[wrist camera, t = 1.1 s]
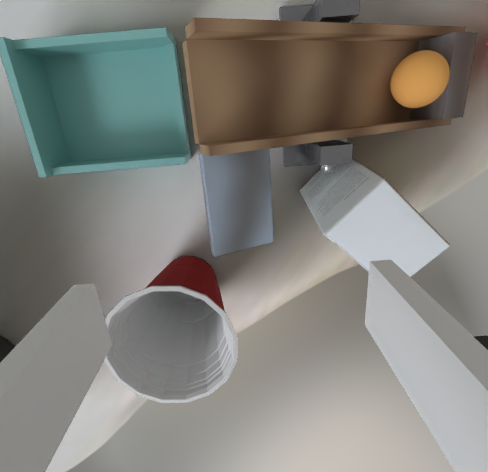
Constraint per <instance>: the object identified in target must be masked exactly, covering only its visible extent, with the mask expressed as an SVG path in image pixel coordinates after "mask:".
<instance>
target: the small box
mask: <svg viewBox="0 0 488 472" xmlns="http://www.w3.org/2000/svg"><path fill="white" fill-rule="evenodd" d="M300 193H301V195H302V197H303V199H304V200H305V202H306V204H307V206H308V208H309V209H310V211H311V213H312V215H313V217H314V219H315V220H316V222H317V224H318V226H319V227H320V229H321V231H322V233H323V234H324V236H325V237H327V238H328V239H329V240H331V241H332V242H333V243H335V244H336V245H337V246H338V247H340V248H341V249H342V250H343V251H345V252H346V253H347V254H348V255H349V256H350V257H351V258H353V259H354V260H355V261H356V262H357V263H359V264H360V265H361V266H362V267H363V268H364V269H366V270H367V271H368V272H369V266H370V261H379V260H392V261H393V262H394V263H396V264H397V265H398V266H399V267H400V268H401V269H402V270H403V271H404V272H405V273H406V274H407V275H408V276H409V277H411V276H412V275H414V274H415V273H416V272H417V271H419V270H420V269H421V268H422V267H424V266H425V265H426V264H427V263H429V262H430V261H431V260H433V259H434V258H435V257H436V256H438V255H439V254H440V253H441V252H443V251H444V250H445V249H446V248H448V247H449V246H450V244H449V243H448V242H447V241H446V240H445V239H444V238H443V237H442V236H441V235H440V234H439V233H438V232H437V231H436V230H435V229H434V228H433V227H432V226H431V225H430V224H429V223H428V222H427V221H426V220H425V219H424V218H423V217H422V216H421V215H420V214H419V213H418V212H417V211H416V210H415V209H414V208H413V207H412V206H411V205H410V204H409V203H408V202H407V201H406V200H405V199H404V198H403V197H402V196H401V195H400V194H399V193H398V192H397V190H396V189H395V188H394V187H392V186H391V184H390V183H389V182H388V181H387V180H386V179H384V178H383V177H381V176H380V175H378V174H376V173H375V172H373V171H372V170H370V169H369V168H367V167H365V166H364V165H362V164H360V163H359V162H357V161H356V160H354V159H353V158H352V163H346V164H336V171H335V173H331V174H323V173H321V169H320V170H319V171H318V172H317V173H316V174H315V175H314V176H313V177H312V178H311V179H310V180H309V181H308V182H307V183H306V184H305V185H304V186H303V187H302V188H301V189H300Z"/></svg>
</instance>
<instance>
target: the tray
mask: <svg viewBox="0 0 488 472" xmlns="http://www.w3.org/2000/svg"><path fill="white" fill-rule="evenodd" d="M0 56H1V59H2V62H3V65H4V68H5V71H6V75H7V78H8V81H9V84H10V87H11V90H12V93H13V97H14V100H15V103H16V106H17V109H18V112H19V116H20V119H21V122H22V125H23V128H24V131H25V135H26V138H27V141H28V144H29V147H30V150H31V153H32V157H33V160H34V163H35V166H36V169H37V172H38V176H39V178H43V177H48V176H51V175H58V174H71V173H83V172H95V171H107V170H119V169H132V168H144V167H156V166H168V165H181V164H186V163H187V162H188V161H189V160H190V159H191V151H190V144H189V136H188V129H187V121H186V114H185V107H184V99H183V92H182V85H181V77H180V70H179V62H178V55H177V48H176V40H175V38H174V37H173V36H172V34H171V33H170V32H169V31H168V29H167V28H166V27H164V28H152V29H140V30H128V31H116V32H104V33H92V34H80V35H68V36H56V37H44V38H32V39H20V40H10V39H7V38H4V37H0Z"/></svg>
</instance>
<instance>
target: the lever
mask: <svg viewBox="0 0 488 472" xmlns="http://www.w3.org/2000/svg"><path fill="white" fill-rule="evenodd" d="M185 33H186V40H185V41H184V42H183V43H182V46H183V54H184V61H185V69H186V77H187V85H188V92H189V100H190V108H191V116H192V123H193V131H194V139H195V144H199V146H200V153H199V159H200V167H201V175H202V183H203V191H204V199H205V207H206V214H207V222H208V230H209V238H210V246H211V253H212V254H213V256H214V257H217V256H221V255H225V254H229V253H232V252H236V251H240V250H244V249H248V248H252V247H256V246H260V245H264V244H267V243H271V242H273V221H272V199H271V177H270V155H269V148H275V147H283V146H291V145H298V144H306V143H313V142H321V141H328V140H336V139H343V138H351V137H358V136H366V135H373V134H381V133H388V132H396V131H403V130H411V129H418V128H426V127H433V126H441V125H448V124H450V122H451V118H456V117H463V114H464V108H465V103H466V97H467V91H468V85H469V79H470V73H471V67H472V61H473V55H474V49H475V43H476V37H477V33H469V32H465V27H452V26H423V25H394V24H365V23H336V22H307V21H278V20H249V19H220V18H194V19H193V20H192V21H191V22H190V23H189V24H188V25H187V26H186V27H185ZM423 50H431V51H435V52H437V53H439V54H441V55H442V56H443V57H444V58H445V59H446V61H447V63H448V65H449V70H450V76H449V81H448V84H447V86H446V88H445V90H444V91H443V93H442V94H441V95H440V96H439V97H438V98H437V99H436V100H435V101H433V102H432V103H430V104H428V105H426V106H423V107H419V108H408V107H405V106H402V105H400V104H399V103H398V102H397V101H396V100H395V99H394V97H393V96H392V93H391V89H390V82H391V77H392V74H393V72H394V70H395V68H396V67H397V66H398V64H399V63H400V62H401V61H402V60H403V59H404V58H406V57H407V56H409V55H410V54H412V53H415V52H418V51H423Z"/></svg>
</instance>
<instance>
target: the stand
mask: <svg viewBox="0 0 488 472" xmlns="http://www.w3.org/2000/svg"><path fill="white" fill-rule="evenodd" d="M359 7H360V0H316V2H315V3H314V4H313V5H302V6H290V7H280V9H279V14H280V21H307V22H336V23H352V20H353V19H354V18H355V17H356V16H358V15H359ZM283 150H284V166H285V167H289V166H301V165H313V164H319V165H320V166H321V173H323V174H331V173H335V171H336V164H346V163H352V150H353V144H351V143H347V138H343V139H336V140H328V141H321V142H313V143H306V144H298V145H291V146H283Z"/></svg>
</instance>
